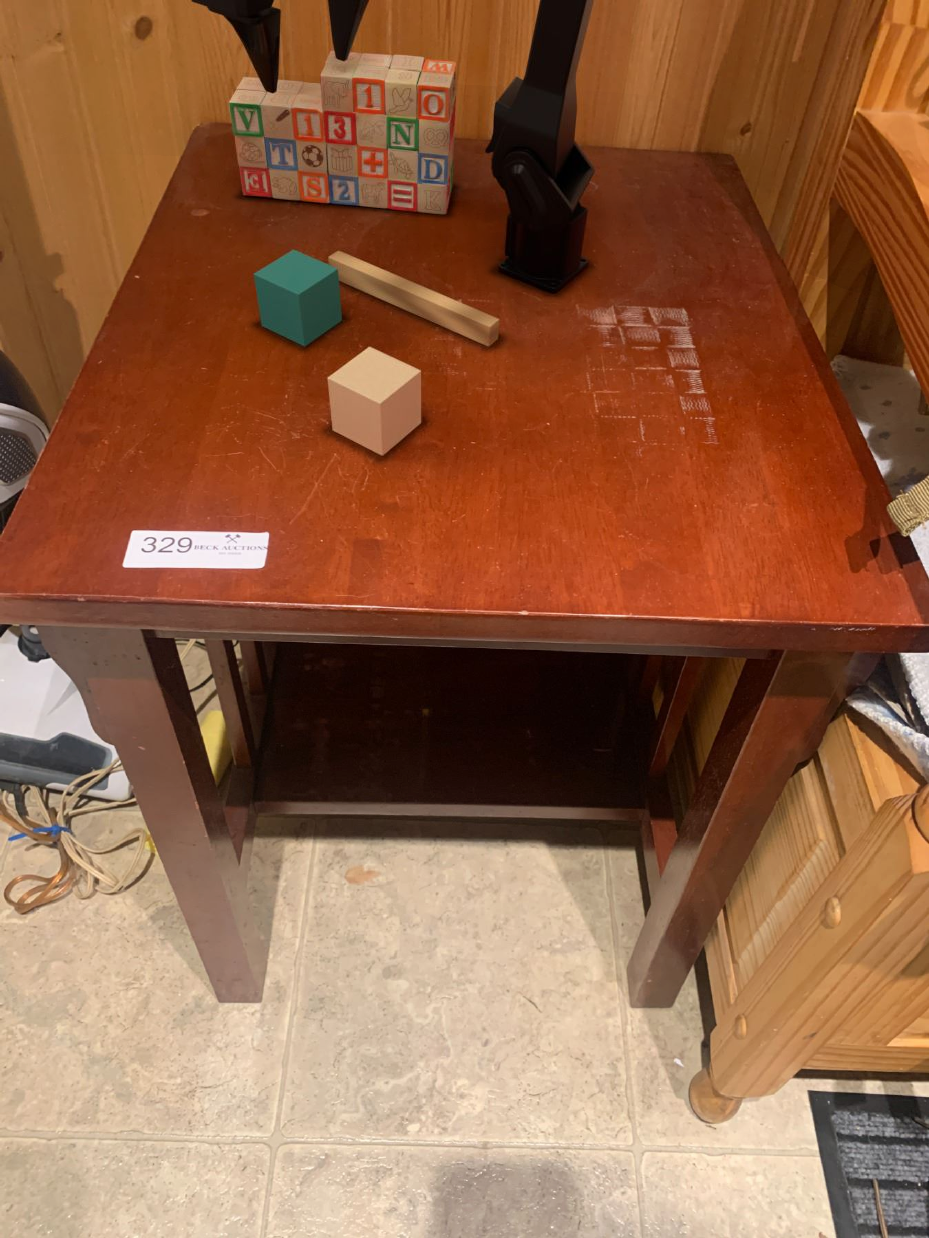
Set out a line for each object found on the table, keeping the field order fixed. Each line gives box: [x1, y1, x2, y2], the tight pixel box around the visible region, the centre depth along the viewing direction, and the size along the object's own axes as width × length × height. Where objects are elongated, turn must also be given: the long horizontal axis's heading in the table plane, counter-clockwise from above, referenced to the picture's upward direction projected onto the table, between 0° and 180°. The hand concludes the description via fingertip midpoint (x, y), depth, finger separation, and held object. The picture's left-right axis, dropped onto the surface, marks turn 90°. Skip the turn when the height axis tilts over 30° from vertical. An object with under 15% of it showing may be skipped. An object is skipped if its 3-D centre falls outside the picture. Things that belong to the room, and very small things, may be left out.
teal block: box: [253, 249, 343, 347], centre depth 79 cm, size 5×5×5 cm
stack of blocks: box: [228, 50, 457, 215], centre depth 91 cm, size 21×6×12 cm, turn 84°
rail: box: [327, 250, 500, 348], centre depth 82 cm, size 18×2×2 cm, turn 55°
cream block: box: [327, 346, 422, 457], centre depth 70 cm, size 5×5×5 cm
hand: (307, 75), depth 81 cm, fingers open, 9 cm apart
